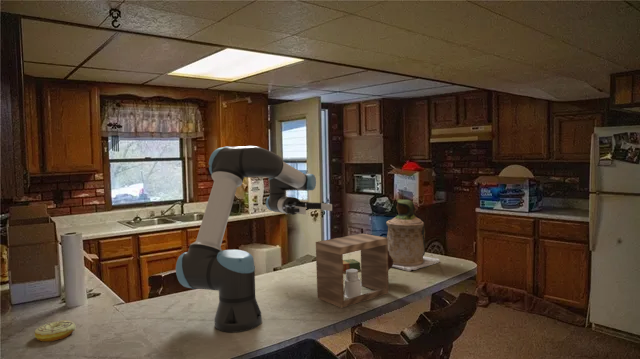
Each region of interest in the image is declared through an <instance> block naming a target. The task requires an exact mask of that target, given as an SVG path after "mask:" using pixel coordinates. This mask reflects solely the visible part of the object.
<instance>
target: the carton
mask: <svg viewBox="0 0 640 359" xmlns="http://www.w3.org/2000/svg"><path fill="white" fill-rule="evenodd" d="M348 269H357V270H358V271H361V261H358V260H356V259H354V258H349V259H348V258H347V259H343V273H346V270H348Z"/></svg>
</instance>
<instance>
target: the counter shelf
mask: <svg viewBox="0 0 640 359" xmlns="http://www.w3.org/2000/svg"><path fill="white" fill-rule="evenodd" d="M353 252H354V253H355V252H360V267H361V270H360V271H361V272H360V276H361V278H360V281H361V282H362V287H365V288H368V289H371V290H373V291H370V292H367V293H364V294H363V293H362V294H363V295H360V296H357V297H353V298H350V299H349V298H346V299H345V297H344V288H345V284H344V272H343V260H344V255H345V254H350V253H353ZM315 262H316V263H315V264H316V265H315V266H316V296H317V299H318V300H320V301H323V302H326V303H328V304H331V305H333V306H336V307H338V308H341V309H342V308H345V307H349V306H352V305H355V304H358V303H362V302H364V301H368V300H371V299H375V298H378V297H381V296H383V295H386V294H390V292H389V291H390V287H389V285H390V284H389V270H388V238H387V237H385V236H379V235H372V234H366V233H358V234H352V235H351V234H350V235H347V236H342V237H336V238H335V237H334V238H330V239H325V240H319V241H315Z"/></svg>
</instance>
